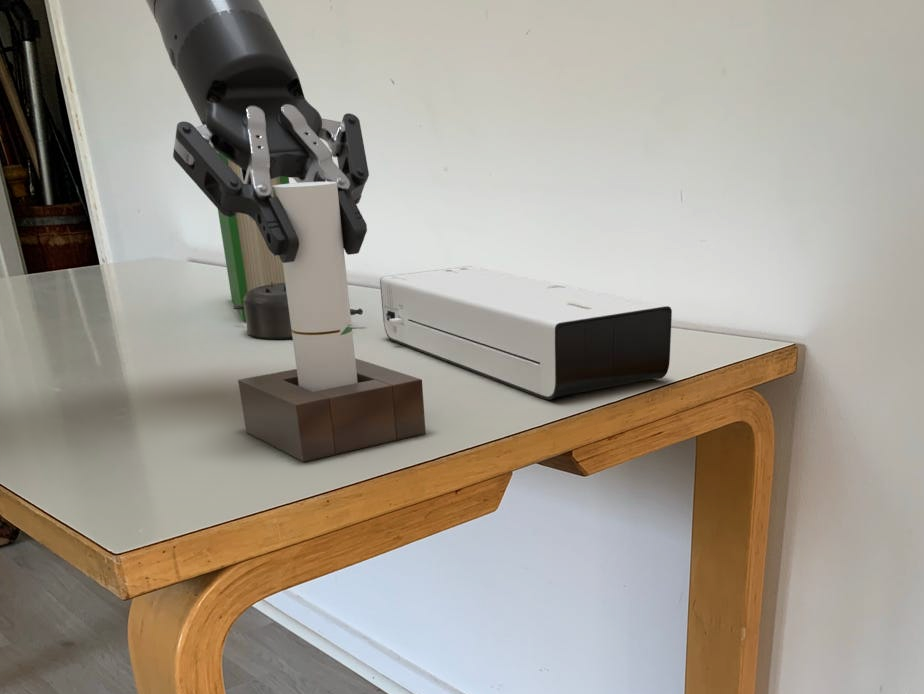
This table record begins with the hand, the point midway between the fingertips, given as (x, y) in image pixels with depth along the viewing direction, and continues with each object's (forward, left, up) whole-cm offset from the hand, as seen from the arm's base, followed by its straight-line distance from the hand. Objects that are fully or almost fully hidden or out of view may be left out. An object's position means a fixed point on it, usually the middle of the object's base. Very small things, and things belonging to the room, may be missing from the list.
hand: (325, 248), depth 67 cm
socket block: (-1, +2, -13) cm, 13 cm away
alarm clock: (-1, +40, -10) cm, 42 cm away
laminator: (+15, +23, -13) cm, 30 cm away
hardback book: (-10, +62, -13) cm, 64 cm away
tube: (-1, +2, -11) cm, 11 cm away
